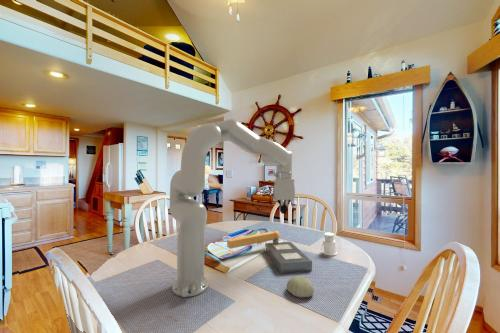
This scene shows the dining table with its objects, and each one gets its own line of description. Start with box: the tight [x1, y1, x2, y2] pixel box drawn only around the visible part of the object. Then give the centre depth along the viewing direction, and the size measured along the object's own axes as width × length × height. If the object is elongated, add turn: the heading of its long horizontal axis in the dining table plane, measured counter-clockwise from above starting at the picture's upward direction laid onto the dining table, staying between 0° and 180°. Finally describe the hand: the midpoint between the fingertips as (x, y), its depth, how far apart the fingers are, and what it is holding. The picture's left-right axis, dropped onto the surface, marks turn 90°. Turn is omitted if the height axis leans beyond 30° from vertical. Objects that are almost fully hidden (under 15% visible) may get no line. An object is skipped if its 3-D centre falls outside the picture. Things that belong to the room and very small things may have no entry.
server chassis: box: [264, 239, 313, 274], centre depth 107 cm, size 30×14×5 cm, turn 12°
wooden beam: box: [226, 230, 280, 250], centre depth 113 cm, size 30×4×4 cm, turn 122°
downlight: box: [320, 232, 339, 257], centre depth 114 cm, size 8×7×10 cm
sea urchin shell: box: [286, 275, 315, 299], centre depth 78 cm, size 9×8×8 cm
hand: (283, 213), depth 109 cm, fingers closed
